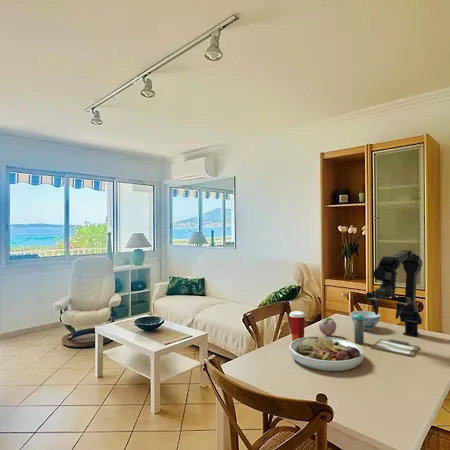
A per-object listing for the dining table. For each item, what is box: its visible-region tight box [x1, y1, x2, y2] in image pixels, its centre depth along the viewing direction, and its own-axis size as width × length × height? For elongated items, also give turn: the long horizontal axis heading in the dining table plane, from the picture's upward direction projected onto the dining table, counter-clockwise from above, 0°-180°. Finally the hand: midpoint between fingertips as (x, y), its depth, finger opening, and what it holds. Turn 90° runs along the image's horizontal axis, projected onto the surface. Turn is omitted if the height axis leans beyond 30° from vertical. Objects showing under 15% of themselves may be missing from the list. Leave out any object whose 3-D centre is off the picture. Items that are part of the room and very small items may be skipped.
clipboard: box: [370, 338, 421, 358], centre depth 150 cm, size 14×17×2 cm
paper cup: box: [289, 310, 306, 342], centre depth 162 cm, size 8×8×14 cm
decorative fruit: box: [318, 316, 337, 337], centre depth 168 cm, size 9×8×10 cm
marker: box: [353, 315, 365, 345], centre depth 158 cm, size 4×4×13 cm
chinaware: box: [349, 310, 381, 331], centre depth 181 cm, size 15×15×8 cm
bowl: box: [289, 335, 365, 372], centre depth 139 cm, size 30×30×8 cm
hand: (386, 316), depth 152 cm, fingers open, 9 cm apart
